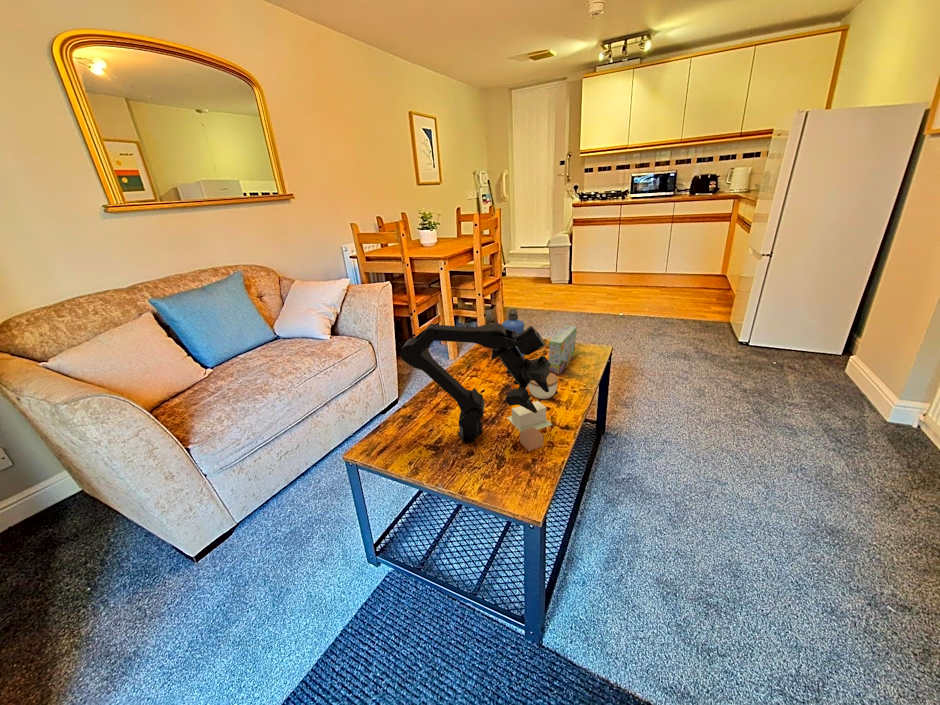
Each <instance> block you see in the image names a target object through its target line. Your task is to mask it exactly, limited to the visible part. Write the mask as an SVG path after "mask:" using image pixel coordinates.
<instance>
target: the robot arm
mask: <svg viewBox="0 0 940 705" xmlns="http://www.w3.org/2000/svg"><path fill="white" fill-rule="evenodd" d="M533 326H534V325H530V326H529V327H527V328H526V329H524V331H523V332H521V333H519V334H518V335H517V333H516V332H514V331H511V330H508V329H505V327H504V326H503V325H502V323H497V322H496V323H488V324H487V323H486V324H483V325H478V326H461V325H446V324H445V325H443V324H435V323H431V324H428V325H427V326H426V328H424V329H423V330H422V331H421V332H419V333H418V334H417V335H416V336H415V337H410V338H408V339H407V341H405V343H404V345H403V346H402V348H401V350H400V352H399V354H400V358H401V360H402V361H403V362H404V363H405V364H407V365H409V366H410V367H412V368H414V369H417V370H420V371H423V372H424V374H426V375H427V376H428V377H429V378H430V379H431V380H432V381H433V382H434V383H436V384H437V385H438V386H439V388H441V389H442V391H443V390H444V392H445V393H447V394H448V395H449V396H450V397H451V398H452V399H454V401H456V404H457V406H458V407H459V410H460V413H459V418H458V429H459V431H458V432H457V435H458V437H460V439H461V440H462V441H463V443H464V444H465V445H466V444H470V443H473V442H476V441H477V440H476V438H477V437H479V436H480V435H481V434H483V421H482V419H483V417H484V414H485V413H484V412H485V407H486V406H485V405H486V402H485V399H484V395H483V394H481V393H480V392H478V390H477V389H476V387H473V388H472V389H471V390H470V389H467V388H466V387H464V386H463V385H462V384H461V383H460V382H459V381H458V380H457V379H456V378H454V377H453V376H452V375H451V374H450V373H449V372H448V371H447V370H446V369H445V368H444V367H443V366H441V364H439V363H438V362H437V361H436V360H435V359H434V358H433V357H432V354H431V353H430V351H429V349H428V347H429V346H430V345H431V344H432V343H434V342H435V341H437V342H453V343H455V342H456V343H466V344H477V345H479V346H481V347H484V348H487V349H491V358H490V359H491V360H496V359H497V358H499V360H500V361H501V362H502V363H503V366H504V365H505V366H506V367H505V366H504V367H505V368H506V371H505V372H506V375H511V377H512V378H513V379H514V381H513V384H514V386H516V385H518V387H517V388H514V389H510V391H509V392H508V394H507V395H506V397H505V402H506V403H507V405H508V406H509V407H512V406H517V405H518V406H522V407H524V408H526V409H528V410H530V411H532V412H534V413H537V410H536V408H535V406H534V405H533V403H532V400H531V397H532V394H529V391H528V390H527V388H529V384H530V382H531V380H533V381H535V382H536V383H537V384H538V385H539V386H540V387H541V388H542V389H543V390H544V391H545V392H549V388H548V384H547V380H546V379H547V377H548V375H549V374H550V371H549V367H550V365H551V364H550V363H549V359H548V358H547V357H546V356H544V355H540V356H539V357H538V358H534V359H528V357H526V358H525V357H524V358H523V356H522V355H521V354H520V352H521V353H522V354H524V356H530V355H531V354H533V353H535V352H537V351H538V350H541V349H542V348H544V347H546V343H545V341H544V340H543V337H542V335H541V334H540V332H539V331H537V330H536V328H534V327H533ZM516 346H517V347H518V349H519V350H520V352H519V351H518V349H517V348H516Z"/></svg>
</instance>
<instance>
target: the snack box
mask: <svg viewBox="0 0 940 705" xmlns="http://www.w3.org/2000/svg"><path fill="white" fill-rule="evenodd" d="M577 329H578V328H577V326H576V325H567V324H565V325H564V326H563V327H562V328H561V329H560V330H559V331H558V332H557V333H556V334H555V335H554V336H553V337H552V338H551V339H550V340H549V343H548V344H549V345H548V361H549V363H550V364H551V365H550V367H549V371H550V373H553V374H555V375H556V376H557V377H560V376H561V375H562V373H563V372H564V371H565V369H566V368H567V367H568V366H569V364H570V363H571V362H572V361H573V360H574V359H575V353H576V352H575V351H576V339H577Z"/></svg>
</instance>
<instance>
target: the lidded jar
mask: <svg viewBox="0 0 940 705" xmlns="http://www.w3.org/2000/svg"><path fill="white" fill-rule="evenodd" d="M546 380H547V384H548V388H549V392H545V391H544V390H543V389H542V388H541V387H540V386H539V385H538V384H537V383H536V382H535V381H533V380H531V382H530V384H529V385H528V390H529V392H530V395H531V396H533V397H534V398H536V399H540V400H547V399H550V398H552V396H554V395H555V393H556V392H557V388H558V381H559V378H558V376H556V375H555V374H553V373H550V374H549V375H548V377H547V379H546Z"/></svg>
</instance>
